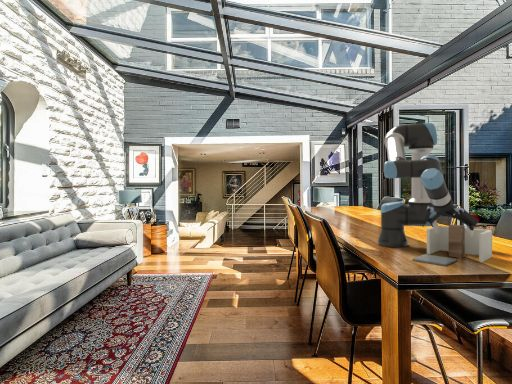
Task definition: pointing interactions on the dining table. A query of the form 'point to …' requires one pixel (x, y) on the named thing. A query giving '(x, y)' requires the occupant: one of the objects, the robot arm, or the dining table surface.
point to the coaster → (434, 259)
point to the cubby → (473, 244)
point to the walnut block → (457, 241)
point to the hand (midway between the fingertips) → (454, 232)
